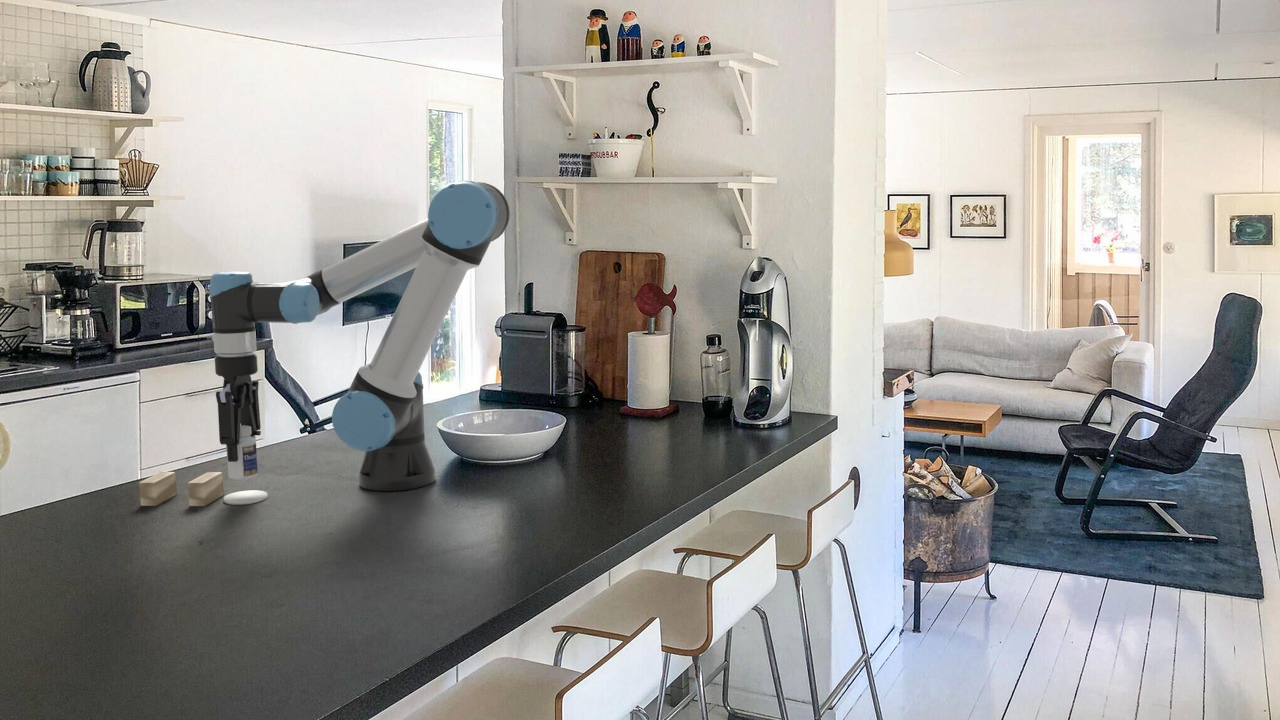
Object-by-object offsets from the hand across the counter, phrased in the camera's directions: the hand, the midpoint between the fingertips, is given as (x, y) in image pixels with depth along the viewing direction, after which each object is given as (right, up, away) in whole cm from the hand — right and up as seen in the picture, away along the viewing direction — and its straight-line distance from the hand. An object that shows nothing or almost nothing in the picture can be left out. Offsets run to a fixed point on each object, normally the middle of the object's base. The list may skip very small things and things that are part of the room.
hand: (243, 473), depth 207 cm
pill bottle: (0, -1, 0) cm, 1 cm away
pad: (0, -5, +1) cm, 5 cm away
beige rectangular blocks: (-12, -5, +1) cm, 13 cm away
